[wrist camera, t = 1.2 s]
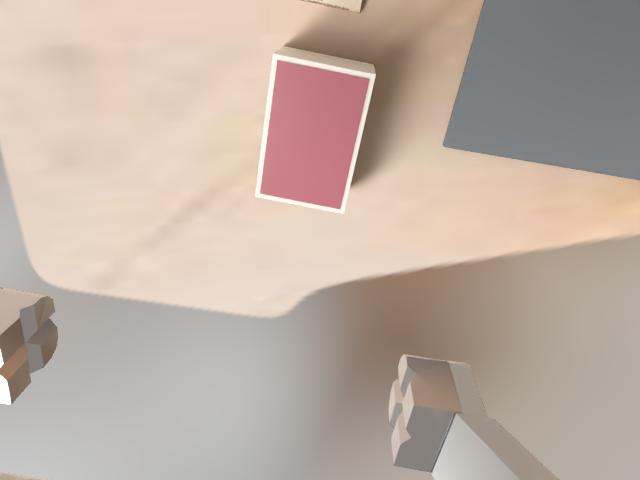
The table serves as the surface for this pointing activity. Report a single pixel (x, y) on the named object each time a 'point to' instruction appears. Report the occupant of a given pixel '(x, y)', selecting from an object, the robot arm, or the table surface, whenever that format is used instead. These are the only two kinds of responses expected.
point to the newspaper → (340, 4)
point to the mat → (553, 85)
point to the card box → (313, 128)
